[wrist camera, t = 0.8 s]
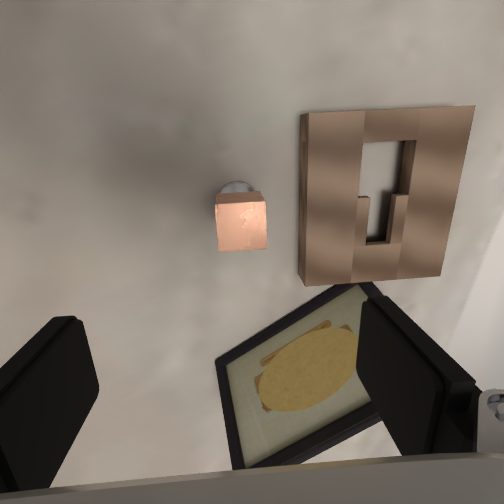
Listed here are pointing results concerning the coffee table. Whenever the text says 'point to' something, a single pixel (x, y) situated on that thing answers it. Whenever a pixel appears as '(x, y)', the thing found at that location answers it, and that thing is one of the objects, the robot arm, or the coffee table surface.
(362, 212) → the keyhole board
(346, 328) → the picture frame
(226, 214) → the peg
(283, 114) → the coffee table surface
